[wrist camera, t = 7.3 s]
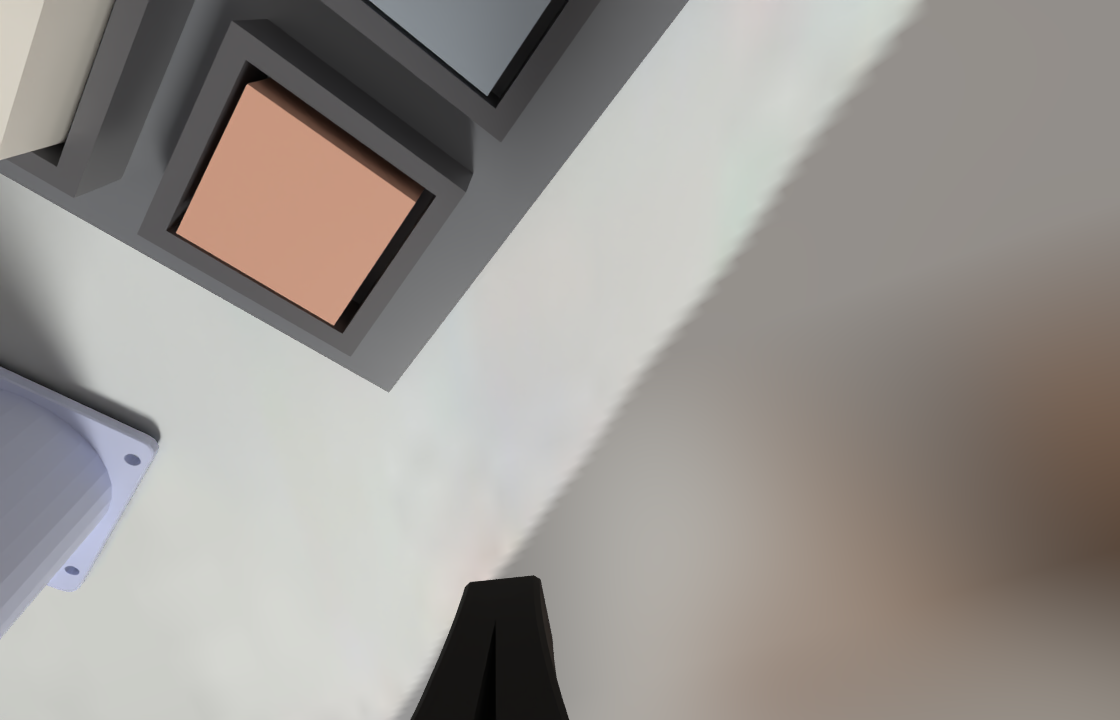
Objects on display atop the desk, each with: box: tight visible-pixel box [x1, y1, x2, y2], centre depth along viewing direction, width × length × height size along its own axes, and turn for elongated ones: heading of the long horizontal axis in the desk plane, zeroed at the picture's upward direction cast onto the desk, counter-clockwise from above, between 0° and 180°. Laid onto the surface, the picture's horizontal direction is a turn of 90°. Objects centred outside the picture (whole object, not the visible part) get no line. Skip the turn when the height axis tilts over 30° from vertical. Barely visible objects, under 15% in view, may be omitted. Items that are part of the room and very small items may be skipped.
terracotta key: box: [176, 78, 425, 325], centre depth 14 cm, size 4×4×2 cm
